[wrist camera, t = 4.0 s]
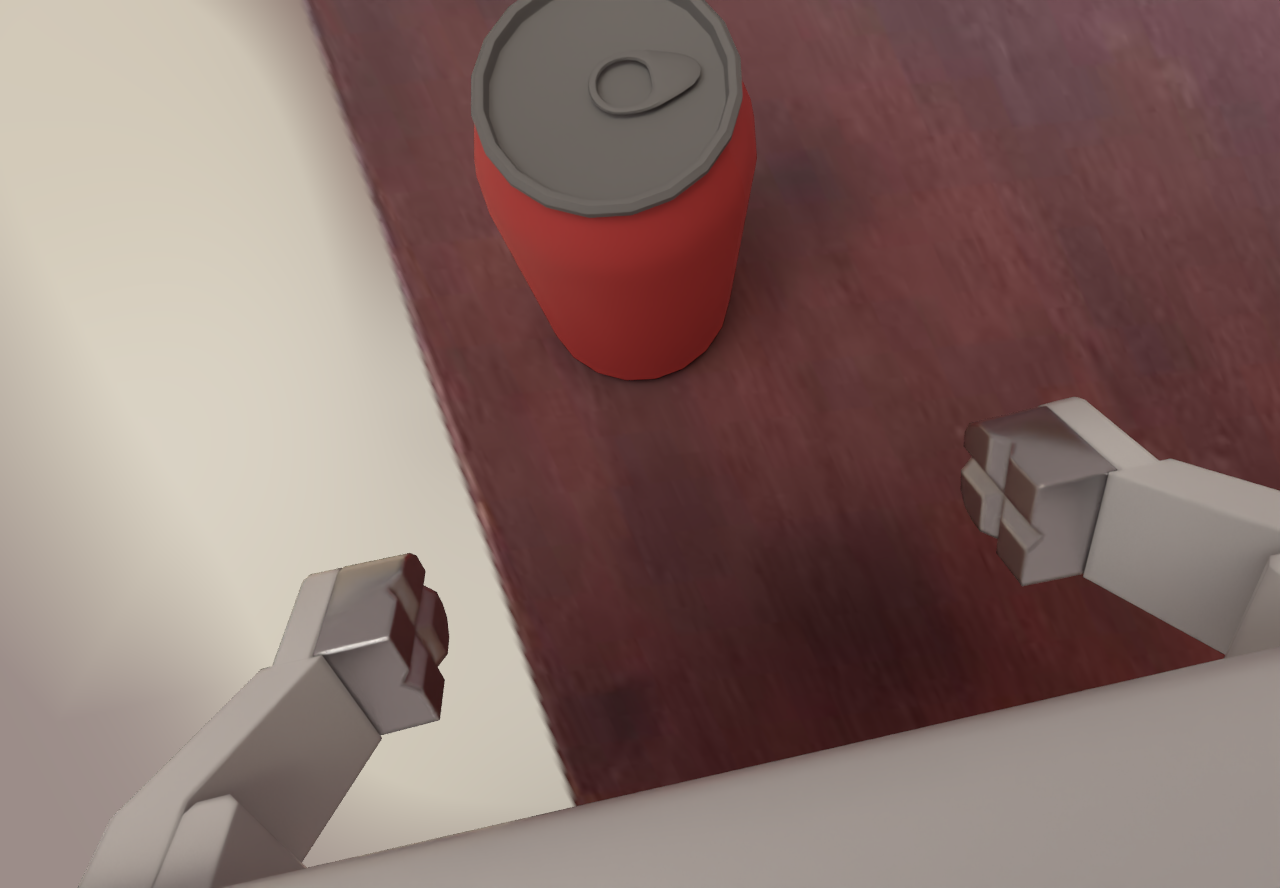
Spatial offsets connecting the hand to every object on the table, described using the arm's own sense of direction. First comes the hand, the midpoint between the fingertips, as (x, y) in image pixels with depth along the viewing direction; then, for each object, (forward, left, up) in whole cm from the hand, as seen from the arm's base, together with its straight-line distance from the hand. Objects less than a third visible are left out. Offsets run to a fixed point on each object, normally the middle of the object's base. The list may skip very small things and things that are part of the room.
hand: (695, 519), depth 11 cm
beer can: (+3, +8, -15) cm, 17 cm away
